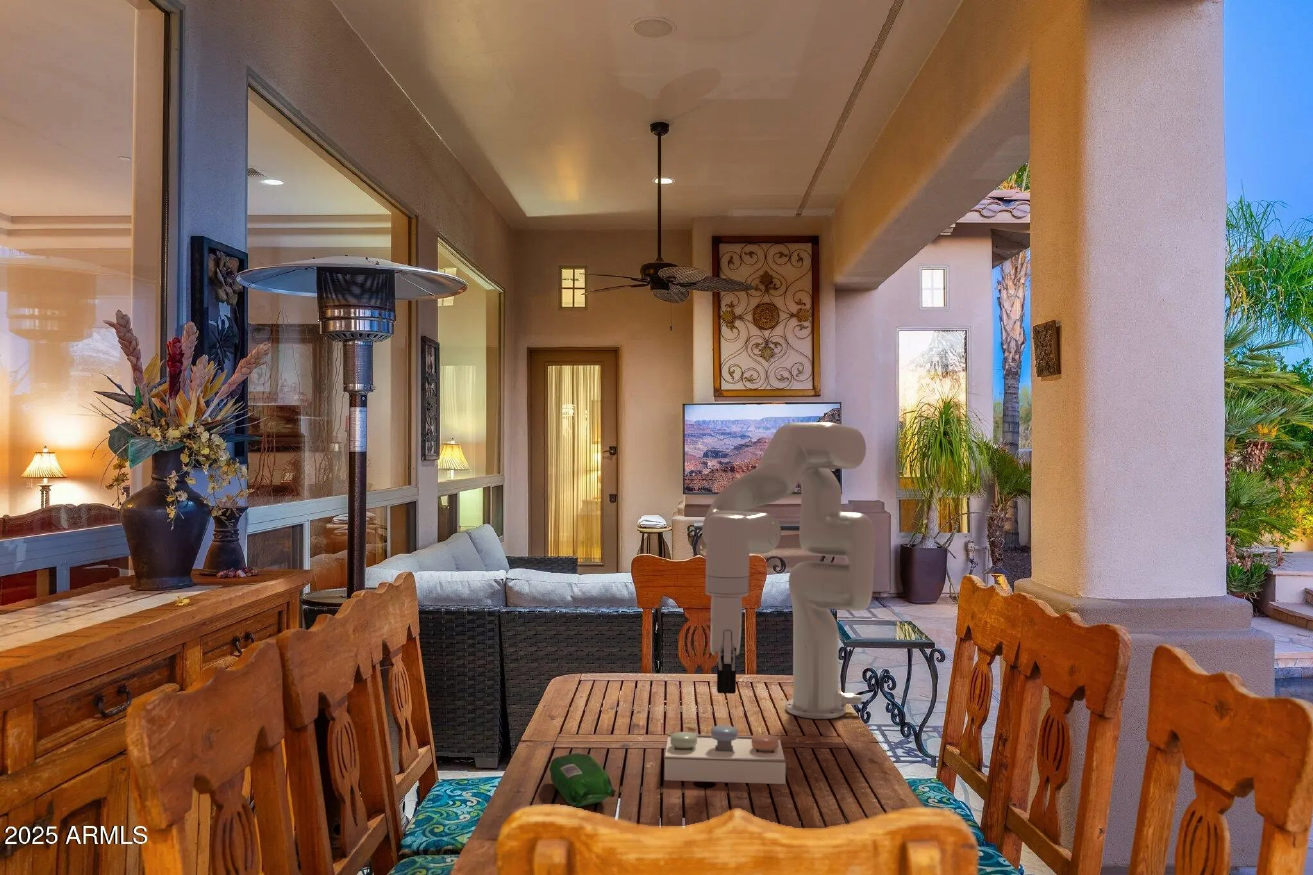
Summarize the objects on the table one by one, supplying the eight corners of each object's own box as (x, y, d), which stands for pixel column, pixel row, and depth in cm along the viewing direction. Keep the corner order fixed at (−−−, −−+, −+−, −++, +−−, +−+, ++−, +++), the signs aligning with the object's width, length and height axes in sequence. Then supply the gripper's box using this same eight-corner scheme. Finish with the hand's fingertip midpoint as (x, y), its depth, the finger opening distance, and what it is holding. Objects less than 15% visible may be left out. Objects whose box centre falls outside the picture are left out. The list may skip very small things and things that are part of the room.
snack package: (572, 820, 126) (573, 784, 126) (545, 781, 140) (545, 749, 140) (617, 813, 128) (618, 778, 128) (586, 776, 143) (586, 745, 143)
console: (779, 758, 152) (779, 736, 152) (785, 783, 140) (785, 760, 140) (668, 754, 153) (668, 733, 153) (664, 780, 141) (664, 757, 141)
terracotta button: (777, 755, 148) (777, 734, 148) (779, 764, 143) (779, 743, 143) (750, 754, 148) (750, 733, 148) (752, 764, 144) (752, 742, 144)
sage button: (697, 752, 149) (697, 732, 149) (696, 762, 144) (696, 741, 144) (671, 752, 149) (671, 731, 149) (669, 761, 145) (670, 740, 145)
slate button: (737, 746, 148) (737, 725, 149) (738, 755, 144) (738, 734, 144) (710, 745, 149) (710, 725, 149) (710, 754, 144) (711, 733, 144)
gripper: (705, 579, 154) (704, 680, 154) (705, 591, 140) (704, 704, 139) (746, 580, 154) (745, 681, 154) (751, 592, 139) (750, 705, 139)
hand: (726, 691), depth 146 cm, fingers closed
